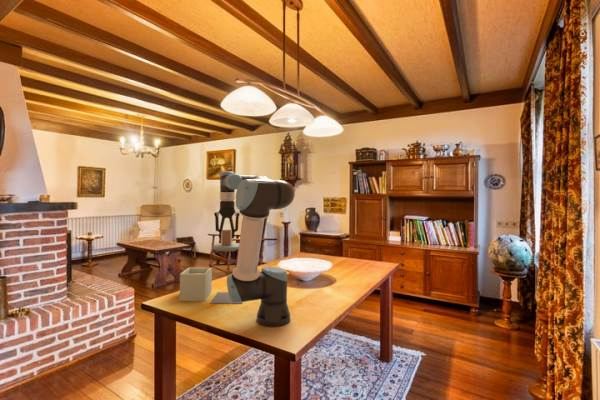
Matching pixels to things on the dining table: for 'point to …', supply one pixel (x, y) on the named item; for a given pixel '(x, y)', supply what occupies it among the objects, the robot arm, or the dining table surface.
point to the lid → (225, 243)
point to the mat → (222, 299)
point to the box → (195, 284)
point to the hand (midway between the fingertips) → (226, 244)
